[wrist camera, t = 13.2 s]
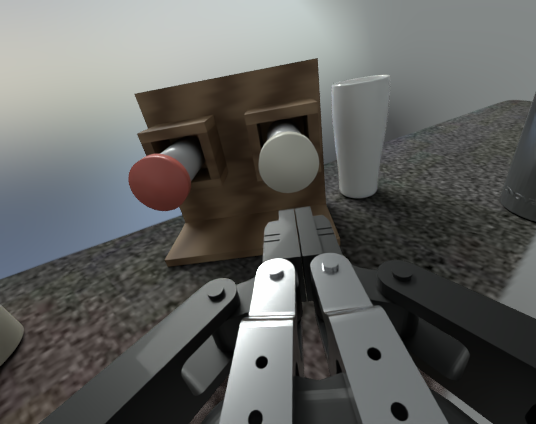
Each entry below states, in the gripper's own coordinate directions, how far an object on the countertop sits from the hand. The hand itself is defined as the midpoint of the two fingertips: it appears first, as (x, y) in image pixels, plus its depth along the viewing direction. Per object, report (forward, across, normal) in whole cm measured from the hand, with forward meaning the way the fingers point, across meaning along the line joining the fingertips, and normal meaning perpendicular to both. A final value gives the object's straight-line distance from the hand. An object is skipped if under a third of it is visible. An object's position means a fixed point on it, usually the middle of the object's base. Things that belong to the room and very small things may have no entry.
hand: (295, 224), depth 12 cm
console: (+17, +5, +11) cm, 21 cm away
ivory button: (+14, 0, +2) cm, 14 cm away
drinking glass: (+24, -10, +11) cm, 28 cm away
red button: (+14, +11, +2) cm, 18 cm away
